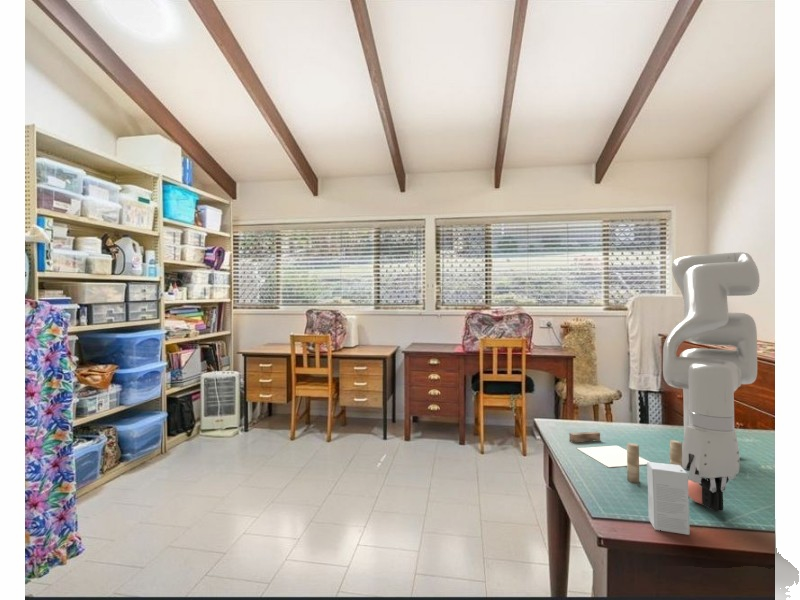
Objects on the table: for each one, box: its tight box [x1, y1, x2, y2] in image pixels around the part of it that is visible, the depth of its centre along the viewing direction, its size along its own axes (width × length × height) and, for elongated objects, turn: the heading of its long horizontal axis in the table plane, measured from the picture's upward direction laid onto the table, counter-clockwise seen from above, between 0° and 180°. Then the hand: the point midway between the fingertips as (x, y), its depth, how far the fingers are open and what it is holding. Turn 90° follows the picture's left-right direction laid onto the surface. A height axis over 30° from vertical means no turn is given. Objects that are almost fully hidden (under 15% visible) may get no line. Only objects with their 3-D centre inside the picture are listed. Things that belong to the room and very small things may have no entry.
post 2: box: [669, 439, 683, 468], centre depth 98 cm, size 3×3×9 cm
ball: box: [688, 479, 703, 505], centre depth 85 cm, size 6×6×6 cm
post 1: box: [626, 442, 640, 484], centre depth 96 cm, size 3×3×9 cm
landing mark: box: [576, 445, 650, 469], centre depth 112 cm, size 14×14×1 cm
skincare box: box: [646, 461, 691, 536], centre depth 76 cm, size 6×4×12 cm
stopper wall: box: [569, 431, 601, 443], centre depth 125 cm, size 10×2×2 cm, turn 99°
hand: (712, 507), depth 80 cm, fingers closed
